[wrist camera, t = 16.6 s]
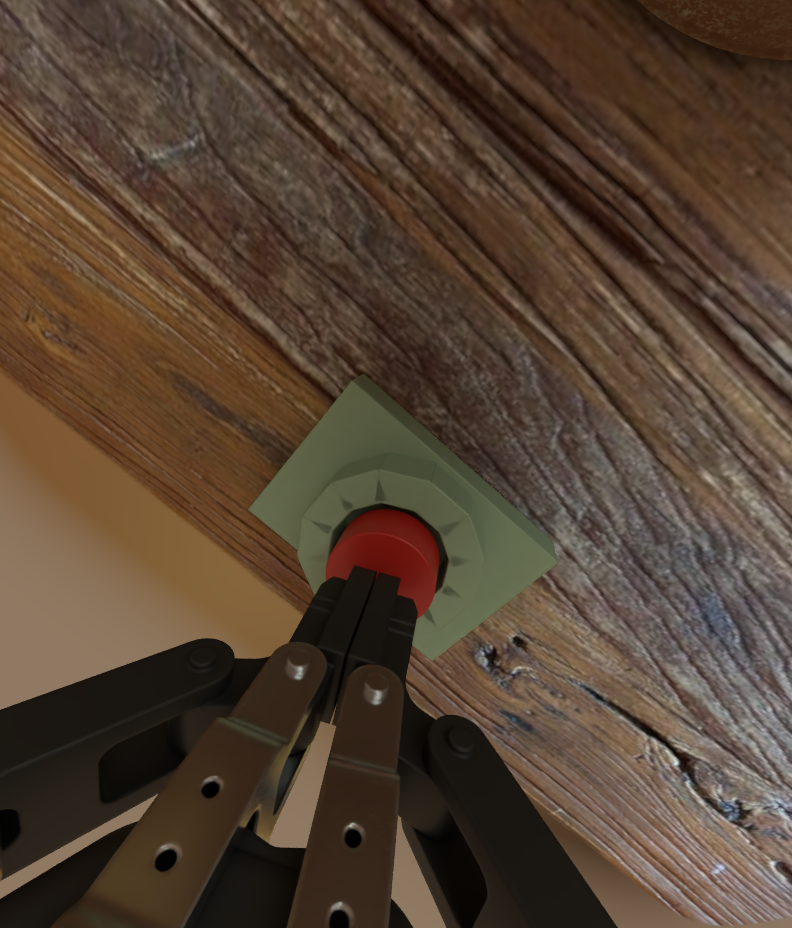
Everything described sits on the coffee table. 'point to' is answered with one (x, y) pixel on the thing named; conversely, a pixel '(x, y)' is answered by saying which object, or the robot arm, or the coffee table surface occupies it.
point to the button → (390, 553)
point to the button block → (404, 509)
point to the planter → (732, 24)
